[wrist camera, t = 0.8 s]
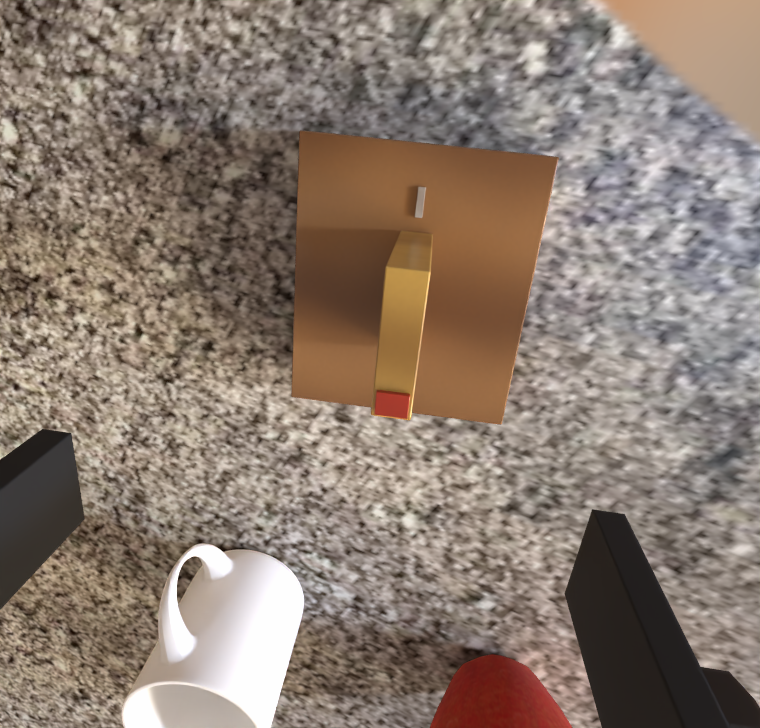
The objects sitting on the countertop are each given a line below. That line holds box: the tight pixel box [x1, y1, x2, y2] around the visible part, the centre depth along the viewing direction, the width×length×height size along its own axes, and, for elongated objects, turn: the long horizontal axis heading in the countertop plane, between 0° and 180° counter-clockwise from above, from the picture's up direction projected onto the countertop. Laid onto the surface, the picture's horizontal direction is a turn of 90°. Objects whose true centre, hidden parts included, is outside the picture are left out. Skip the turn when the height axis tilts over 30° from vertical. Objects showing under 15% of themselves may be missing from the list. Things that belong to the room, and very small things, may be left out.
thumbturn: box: [371, 231, 433, 420], centre depth 23 cm, size 6×2×8 cm, turn 174°
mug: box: [121, 543, 304, 728], centre depth 35 cm, size 9×12×11 cm
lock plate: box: [291, 131, 559, 425], centre depth 28 cm, size 14×12×3 cm
